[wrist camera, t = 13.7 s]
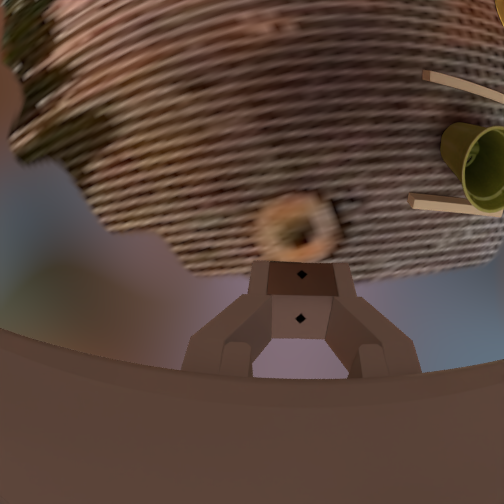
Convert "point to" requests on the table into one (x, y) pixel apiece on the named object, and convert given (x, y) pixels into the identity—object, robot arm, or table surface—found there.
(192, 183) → the table surface
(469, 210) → the frame
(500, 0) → the cup
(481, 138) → the plant pot
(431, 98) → the table surface
